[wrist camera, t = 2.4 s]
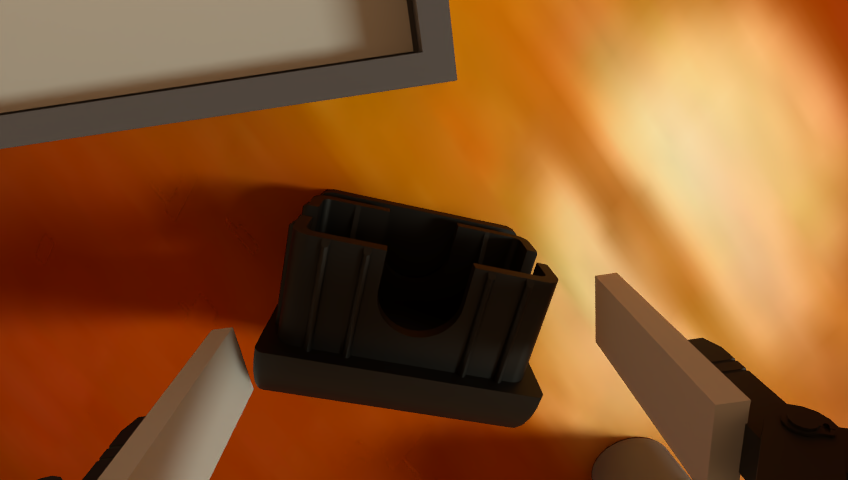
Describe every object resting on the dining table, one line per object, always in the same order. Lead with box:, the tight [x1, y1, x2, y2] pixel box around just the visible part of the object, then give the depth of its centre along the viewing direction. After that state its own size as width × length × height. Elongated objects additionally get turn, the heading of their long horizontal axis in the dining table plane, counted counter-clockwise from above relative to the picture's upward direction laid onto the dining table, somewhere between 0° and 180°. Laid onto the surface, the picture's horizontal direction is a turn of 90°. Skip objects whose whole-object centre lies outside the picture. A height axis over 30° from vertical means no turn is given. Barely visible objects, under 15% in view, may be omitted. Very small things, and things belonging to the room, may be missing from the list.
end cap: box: [253, 190, 558, 428], centre depth 18 cm, size 10×7×7 cm
